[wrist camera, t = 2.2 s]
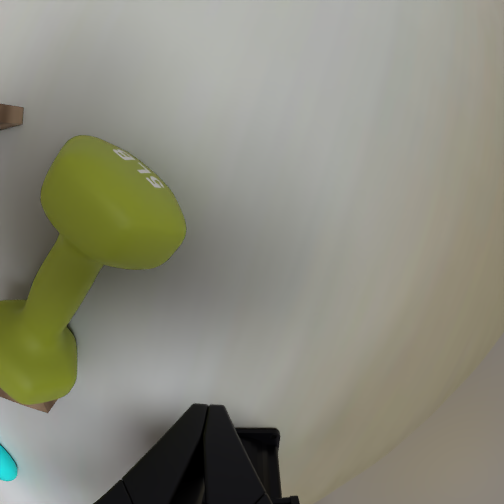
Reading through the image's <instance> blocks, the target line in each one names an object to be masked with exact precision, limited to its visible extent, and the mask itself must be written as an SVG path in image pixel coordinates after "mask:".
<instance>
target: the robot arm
mask: <svg viewBox="0 0 504 504" xmlns="http://www.w3.org/2000/svg"><path fill="white" fill-rule="evenodd" d="M279 441H280V432H279V431H278V430H275V429H235V428H234V426H233V424H232V421H231V419H230V417H229V415H228V412H227V410H226V408H225V406H224V405H213V404H211V405H209V406H208V405H207V404H196V403H195V404H192V405H191V407H190V408H189V409H188V410H187V411H186V412H185V413H184V414H183V415H182V416H181V417H180V419H179V420H178V421H177V422H176V423H175V424H174V425H173V426H172V427H171V428H170V429H169V430H168V431H167V432H166V433H165V435H164V436H163V437H162V438H161V439H160V440H159V441H158V442H157V443H156V444H155V445H154V446H153V447H152V448H151V449H150V450H149V451H148V452H147V453H146V454H145V455H144V456H143V457H142V458H141V459H140V460H139V461H138V462H137V463H136V465H135V466H134V467H133V468H132V469H131V470H130V471H129V472H128V473H127V474H126V475H125V476H124V477H123V478H122V480H123V481H122V480H119V481H118V482H117V483H116V484H115V485H114V486H113V487H112V488H111V489H110V490H109V491H108V492H107V493H106V494H104V495H103V496H102V497H101V498H100V499H99V500H97V501H96V502H95V503H94V504H300V503H299V499H298V496H290V497H286V498H282V493H281V482H280V472H279V461H278V449H279Z"/></svg>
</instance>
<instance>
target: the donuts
mask: <svg viewBox="0 0 504 504" xmlns="http://www.w3.org/2000/svg"><path fill="white" fill-rule="evenodd" d="M16 476H17V467H16V465H15V463H14V461H13V459H12V458H11V456H10V455H9V454H8V453H7V452H6V450H5V449H4V448H3V447H2V446H1V445H0V480H3V481H11V480H14V479H15V478H16Z"/></svg>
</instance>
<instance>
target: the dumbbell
mask: <svg viewBox="0 0 504 504" xmlns="http://www.w3.org/2000/svg"><path fill="white" fill-rule="evenodd" d="M40 200H41V204H42V207H43V210H44V212H45V214H46V216H47V217H48V219H49V220H50V222H51V223H52V225H53V226H54V227H55V228H56V229H57V231H58V232H59V236H58V239H57V241H56V242H55V244H54V246H53V247H52V249H51V250H50V252H49V254H48V255H47V257H46V259H45V260H44V262H43V264H42V265H41V267H40V269H39V271H38V273H37V274H36V277H35V279H34V281H33V284H32V287H31V289H30V292H29V295H28V298H27V300H2V301H0V388H1V389H2V390H3V391H4V392H6V393H7V394H8V395H9V396H10V397H11V398H13V399H14V400H16V401H17V402H19V403H21V404H25V405H33V404H39V403H44V402H48V401H52V400H55V399H58V398H61V397H63V396H65V395H66V394H68V393H69V392H70V390H71V389H72V387H73V386H74V384H75V381H76V377H77V347H76V341H75V338H74V336H73V334H72V333H71V331H70V330H69V329H68V328H67V327H66V326H67V325H68V323H69V322H70V320H71V319H72V317H73V315H74V314H75V312H76V311H77V309H78V308H79V306H80V305H81V303H82V301H83V300H84V298H85V296H86V294H87V293H88V291H89V289H90V288H91V286H92V284H93V282H94V280H95V278H96V276H97V275H98V273H99V271H100V269H101V268H102V267H103V266H104V265H107V266H111V267H116V268H121V269H129V270H143V269H152V268H156V267H158V266H160V265H162V264H163V263H164V262H166V261H167V260H168V259H169V258H170V257H171V256H172V255H173V254H174V252H175V251H176V250H177V249H178V247H179V246H180V245H181V244H182V242H183V240H184V238H185V234H186V223H185V219H184V217H183V214H182V211H181V209H180V207H179V204H178V202H177V200H176V198H175V196H174V195H173V193H172V192H171V190H170V189H169V188H168V187H167V185H166V184H165V183H164V182H163V181H162V180H161V179H160V178H159V177H158V176H157V175H156V174H155V173H154V172H153V171H151V170H150V169H149V168H148V167H147V166H146V165H144V164H143V163H142V162H141V161H139V160H138V159H137V158H135V157H134V156H132V155H131V154H129V153H128V152H126V151H124V150H122V149H120V148H118V147H116V146H114V145H112V144H110V143H108V142H106V141H103V140H101V139H99V138H96V137H92V136H86V135H79V136H75V137H73V138H71V139H70V140H69V141H67V142H66V144H65V145H64V146H63V147H62V149H61V150H60V152H59V153H58V155H57V157H56V158H55V160H54V162H53V163H52V165H51V167H50V169H49V171H48V173H47V175H46V177H45V180H44V183H43V185H42V188H41V198H40Z"/></svg>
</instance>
